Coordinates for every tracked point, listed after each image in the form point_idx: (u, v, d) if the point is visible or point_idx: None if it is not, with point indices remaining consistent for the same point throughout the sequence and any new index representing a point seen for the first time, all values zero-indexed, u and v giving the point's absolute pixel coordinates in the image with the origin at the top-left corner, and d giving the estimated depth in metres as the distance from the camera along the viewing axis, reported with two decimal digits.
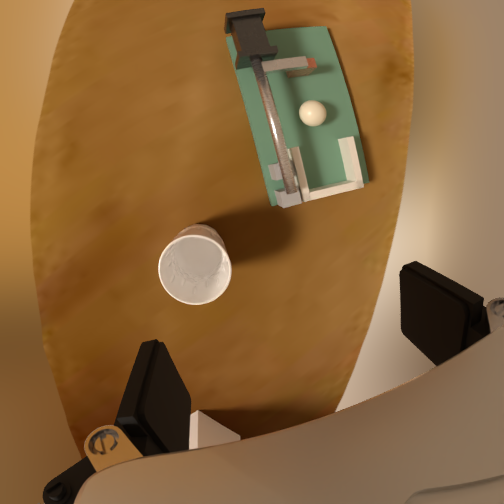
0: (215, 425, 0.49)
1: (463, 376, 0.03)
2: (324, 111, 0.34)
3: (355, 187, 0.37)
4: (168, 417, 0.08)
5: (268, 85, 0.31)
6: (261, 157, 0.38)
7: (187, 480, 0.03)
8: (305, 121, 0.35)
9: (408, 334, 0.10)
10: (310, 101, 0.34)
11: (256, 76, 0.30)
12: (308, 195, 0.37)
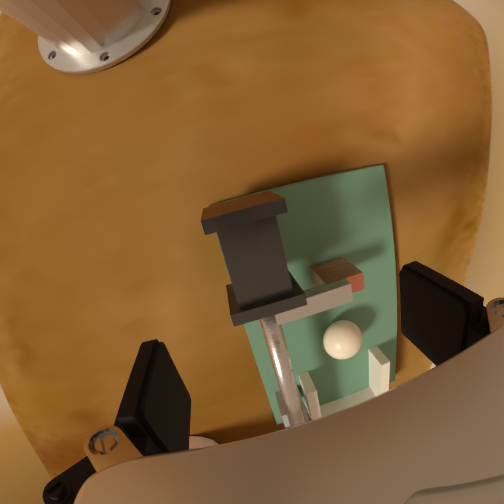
0: None
1: (463, 376, 0.03)
2: (360, 345, 0.24)
3: None
4: (168, 417, 0.08)
5: (283, 345, 0.20)
6: (266, 386, 0.28)
7: (187, 480, 0.03)
8: (330, 355, 0.25)
9: (408, 334, 0.10)
10: (343, 332, 0.24)
11: (264, 331, 0.20)
12: None
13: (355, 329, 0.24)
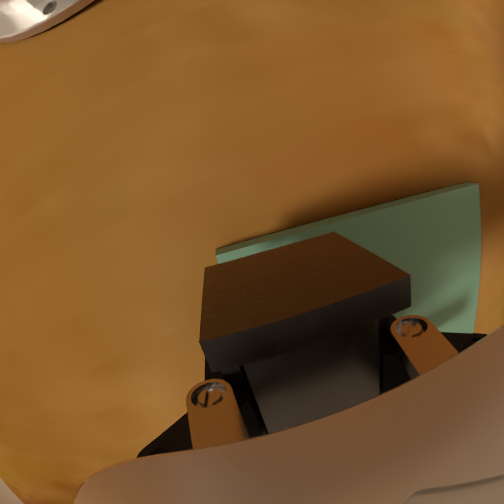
0: None
1: (462, 376, 0.03)
2: None
3: None
4: None
5: None
6: None
7: (187, 480, 0.03)
8: None
9: None
10: None
11: None
12: None
13: None
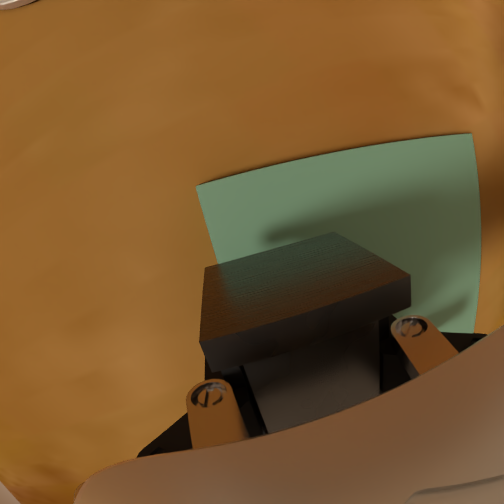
0: None
1: (463, 376, 0.03)
2: None
3: None
4: None
5: None
6: None
7: (187, 480, 0.03)
8: None
9: None
10: None
11: None
12: None
13: None
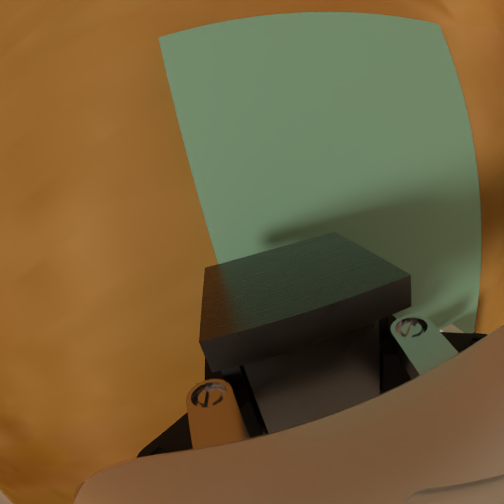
0: None
1: (462, 376, 0.03)
2: None
3: None
4: None
5: None
6: None
7: (187, 480, 0.03)
8: None
9: None
10: None
11: None
12: None
13: None
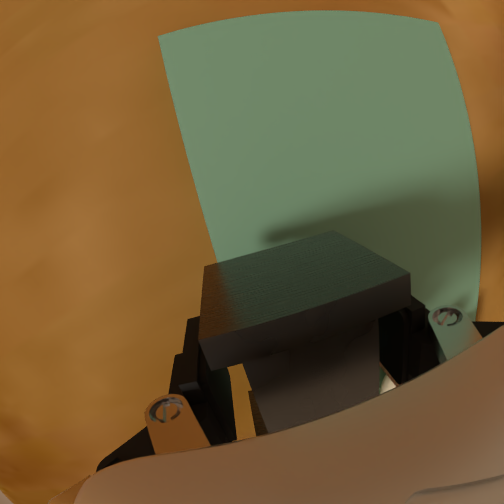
0: None
1: (463, 376, 0.03)
2: None
3: None
4: (219, 387, 0.09)
5: None
6: None
7: (187, 480, 0.03)
8: (385, 383, 0.14)
9: None
10: None
11: None
12: None
13: None
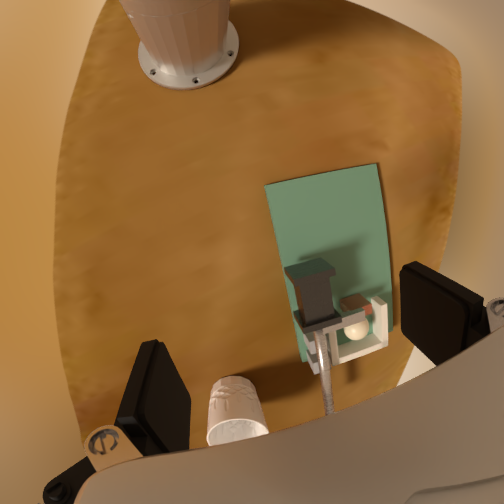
0: None
1: (463, 376, 0.03)
2: None
3: (380, 347, 0.38)
4: (168, 417, 0.08)
5: (325, 346, 0.34)
6: (296, 323, 0.39)
7: (187, 480, 0.03)
8: None
9: (408, 334, 0.10)
10: None
11: (315, 337, 0.34)
12: (337, 360, 0.37)
13: None
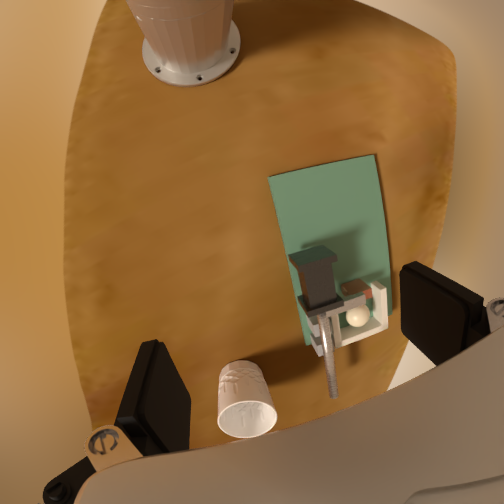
0: None
1: (463, 377, 0.03)
2: None
3: (380, 330, 0.40)
4: (168, 417, 0.08)
5: (328, 328, 0.37)
6: (300, 308, 0.41)
7: (187, 480, 0.03)
8: (349, 313, 0.40)
9: (408, 334, 0.10)
10: None
11: (319, 321, 0.36)
12: (340, 343, 0.40)
13: None
